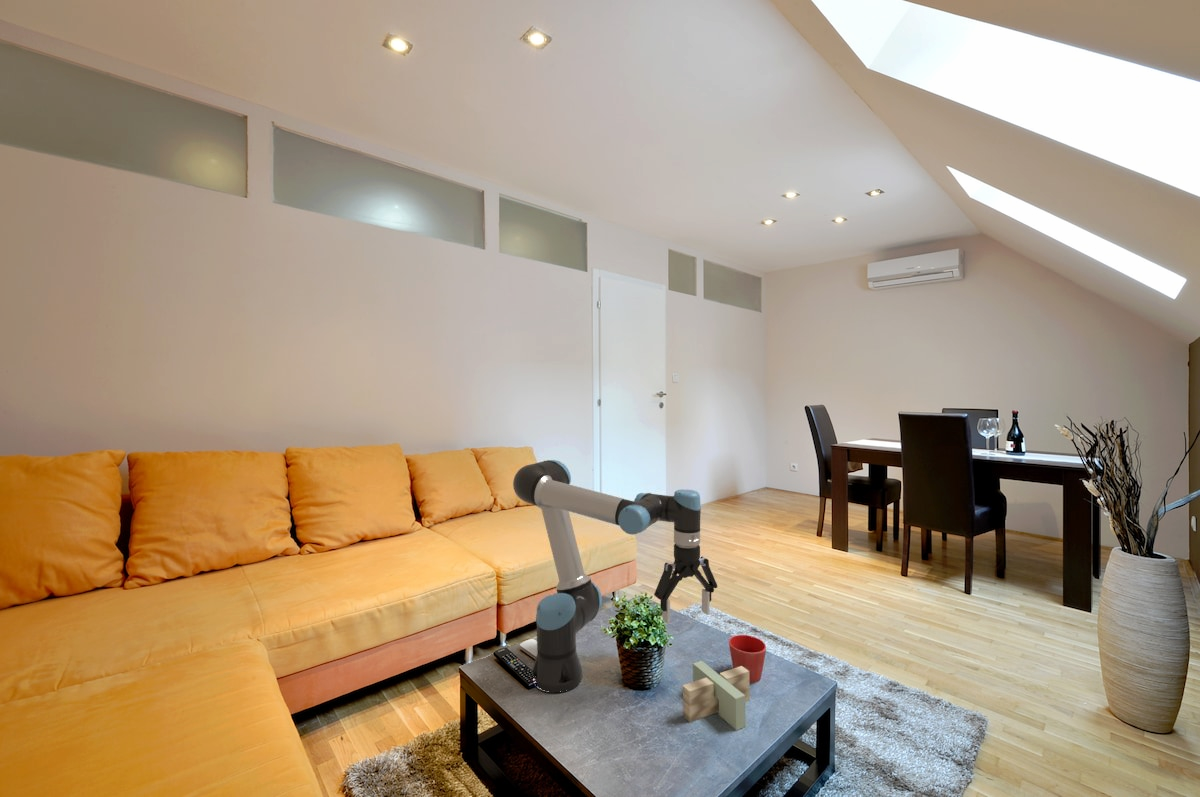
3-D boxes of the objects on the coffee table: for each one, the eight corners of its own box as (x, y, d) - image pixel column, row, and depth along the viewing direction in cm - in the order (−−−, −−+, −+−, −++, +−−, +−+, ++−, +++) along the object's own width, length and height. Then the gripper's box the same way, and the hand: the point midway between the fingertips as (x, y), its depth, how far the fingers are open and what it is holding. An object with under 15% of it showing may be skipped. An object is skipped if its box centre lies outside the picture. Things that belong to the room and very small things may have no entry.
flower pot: (761, 665, 150) (761, 634, 150) (770, 687, 139) (769, 653, 139) (726, 664, 151) (726, 633, 151) (732, 685, 140) (732, 652, 140)
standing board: (690, 722, 124) (689, 691, 124) (683, 715, 127) (682, 685, 127) (749, 700, 133) (749, 671, 133) (742, 694, 136) (741, 665, 136)
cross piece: (745, 726, 122) (745, 695, 122) (736, 730, 121) (735, 698, 121) (702, 688, 139) (701, 660, 139) (693, 691, 137) (692, 663, 137)
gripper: (656, 554, 131) (655, 631, 131) (730, 542, 141) (729, 614, 142) (642, 545, 138) (642, 619, 138) (714, 535, 148) (713, 603, 149)
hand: (686, 617), depth 140 cm, fingers open, 13 cm apart
